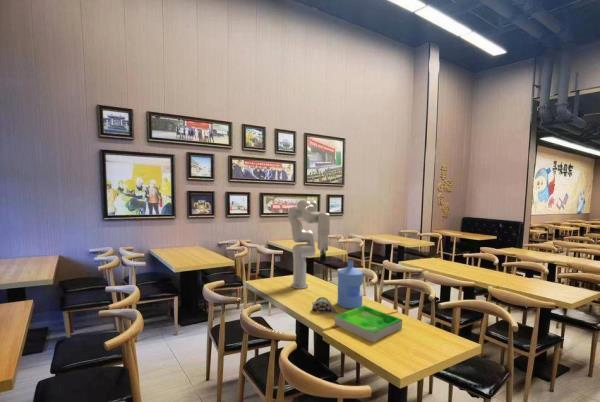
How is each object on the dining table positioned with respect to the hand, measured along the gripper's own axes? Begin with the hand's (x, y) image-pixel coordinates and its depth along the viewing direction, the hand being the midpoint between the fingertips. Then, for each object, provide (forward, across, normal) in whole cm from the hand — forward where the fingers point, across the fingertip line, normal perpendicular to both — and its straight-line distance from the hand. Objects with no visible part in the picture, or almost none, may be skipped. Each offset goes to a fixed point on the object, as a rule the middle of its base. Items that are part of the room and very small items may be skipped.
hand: (322, 261), depth 193 cm
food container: (+24, +4, -1) cm, 24 cm away
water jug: (+27, +4, +17) cm, 32 cm away
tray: (+28, +35, +17) cm, 48 cm away
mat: (+27, +7, 0) cm, 28 cm away
